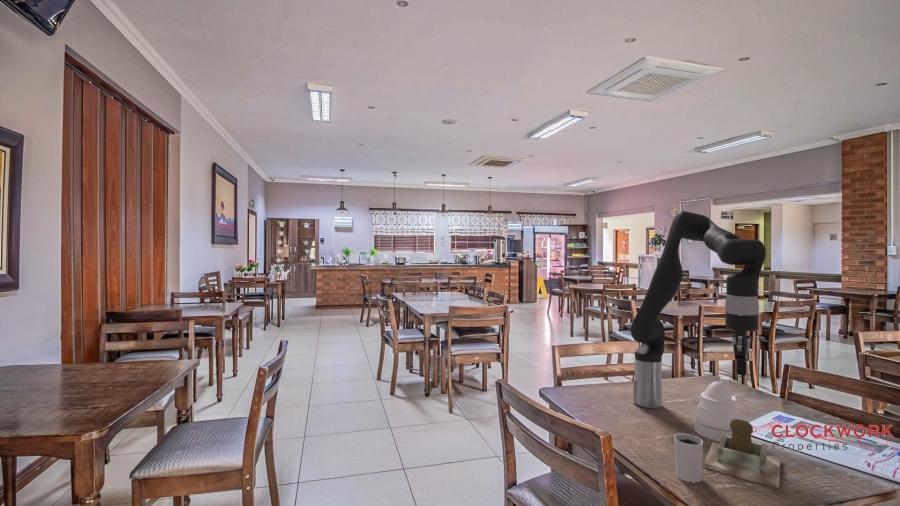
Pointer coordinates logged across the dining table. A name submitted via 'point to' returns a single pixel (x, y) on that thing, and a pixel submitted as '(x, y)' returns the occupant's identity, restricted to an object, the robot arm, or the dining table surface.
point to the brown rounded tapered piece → (741, 436)
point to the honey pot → (716, 411)
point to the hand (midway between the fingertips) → (741, 374)
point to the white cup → (688, 456)
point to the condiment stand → (744, 462)
